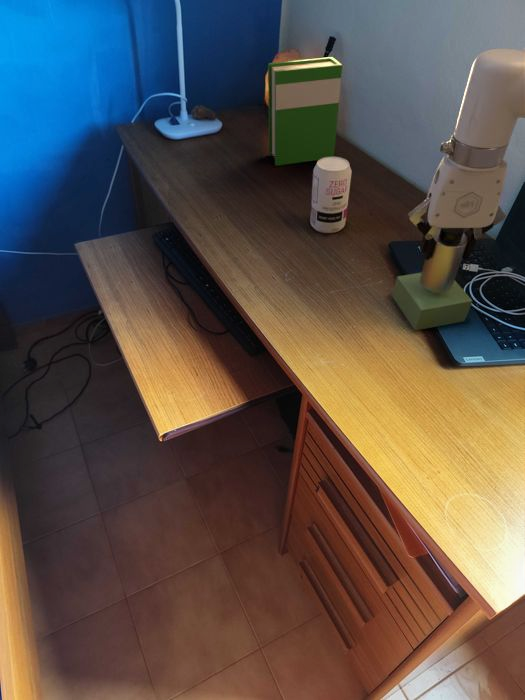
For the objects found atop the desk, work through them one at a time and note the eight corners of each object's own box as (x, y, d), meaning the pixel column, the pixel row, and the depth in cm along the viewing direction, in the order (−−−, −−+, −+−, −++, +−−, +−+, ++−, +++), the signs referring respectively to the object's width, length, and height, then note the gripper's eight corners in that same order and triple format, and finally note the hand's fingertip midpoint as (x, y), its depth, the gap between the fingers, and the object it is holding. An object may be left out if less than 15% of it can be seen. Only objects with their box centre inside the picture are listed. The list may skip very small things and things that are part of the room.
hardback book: (275, 165, 133) (275, 71, 116) (269, 155, 138) (268, 63, 121) (333, 157, 136) (342, 64, 119) (325, 147, 141) (332, 56, 124)
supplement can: (325, 212, 115) (330, 152, 104) (351, 225, 110) (360, 163, 100) (303, 225, 111) (306, 163, 100) (329, 238, 107) (336, 176, 96)
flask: (447, 273, 87) (465, 219, 79) (456, 292, 83) (475, 238, 75) (416, 273, 87) (430, 219, 79) (423, 292, 83) (439, 238, 75)
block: (438, 288, 93) (444, 268, 90) (464, 321, 87) (472, 300, 83) (392, 296, 92) (396, 276, 88) (415, 330, 85) (421, 310, 82)
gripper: (422, 163, 65) (398, 268, 78) (547, 161, 65) (502, 268, 78) (411, 141, 70) (390, 243, 83) (527, 139, 70) (488, 242, 83)
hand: (444, 254), depth 80 cm, fingers closed on flask, 5 cm apart
